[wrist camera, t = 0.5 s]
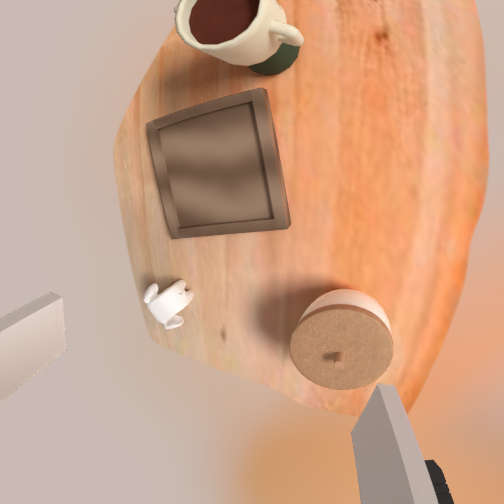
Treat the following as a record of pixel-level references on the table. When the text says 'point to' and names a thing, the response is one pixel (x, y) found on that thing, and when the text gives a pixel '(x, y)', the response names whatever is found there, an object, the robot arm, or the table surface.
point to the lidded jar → (342, 340)
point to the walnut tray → (220, 167)
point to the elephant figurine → (168, 303)
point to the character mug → (240, 32)
